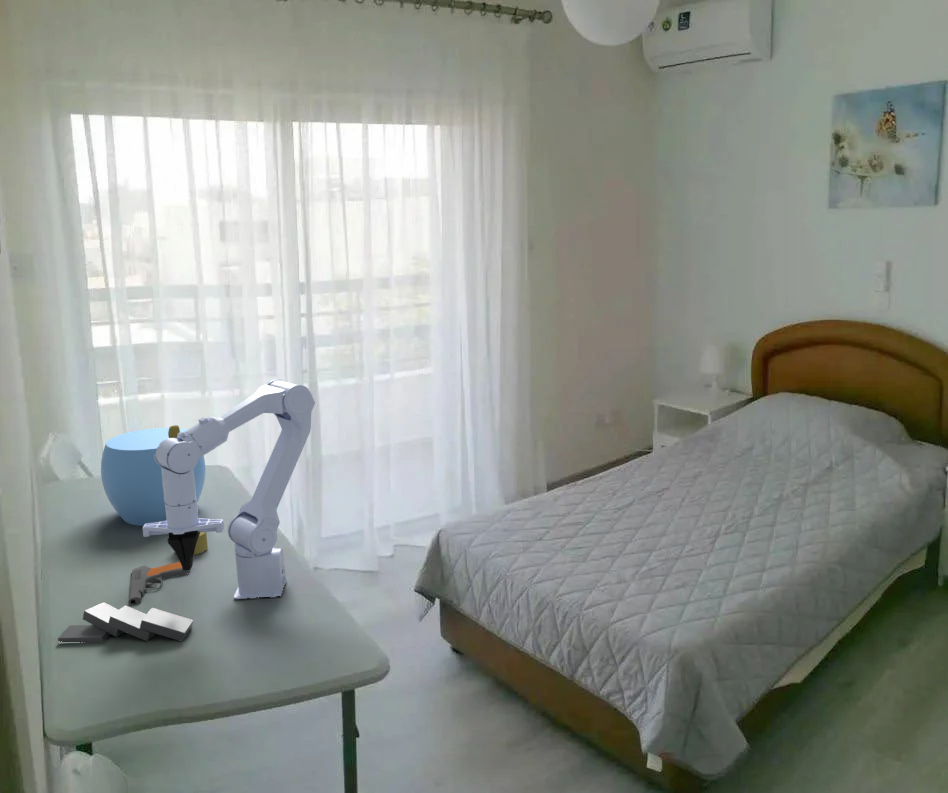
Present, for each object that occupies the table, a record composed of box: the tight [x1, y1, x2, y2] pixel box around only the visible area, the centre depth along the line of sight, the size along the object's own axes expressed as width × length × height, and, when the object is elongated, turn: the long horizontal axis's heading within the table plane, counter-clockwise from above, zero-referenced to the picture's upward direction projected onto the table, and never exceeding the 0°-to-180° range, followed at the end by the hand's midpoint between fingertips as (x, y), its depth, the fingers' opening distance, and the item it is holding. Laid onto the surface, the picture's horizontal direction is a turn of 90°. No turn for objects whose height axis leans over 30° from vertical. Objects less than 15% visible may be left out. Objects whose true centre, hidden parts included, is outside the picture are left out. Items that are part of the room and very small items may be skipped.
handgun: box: [127, 561, 191, 605], centre depth 176 cm, size 2×16×12 cm
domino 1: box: [82, 602, 126, 638], centre depth 156 cm, size 2×5×8 cm
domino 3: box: [139, 607, 194, 642], centre depth 154 cm, size 2×5×8 cm
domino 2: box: [108, 605, 157, 642], centre depth 154 cm, size 2×5×8 cm
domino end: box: [57, 624, 111, 644], centre depth 154 cm, size 2×5×8 cm
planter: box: [100, 427, 206, 527], centre depth 215 cm, size 25×25×20 cm
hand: (187, 568), depth 160 cm, fingers closed
